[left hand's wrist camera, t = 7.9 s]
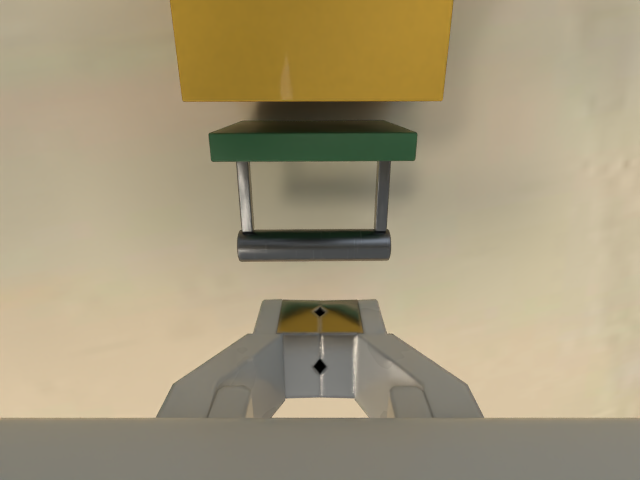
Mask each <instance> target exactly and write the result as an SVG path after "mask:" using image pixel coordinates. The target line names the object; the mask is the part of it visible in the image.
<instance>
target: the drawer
mask: <svg viewBox="0 0 640 480" xmlns="http://www.w3.org/2000/svg"><path fill="white" fill-rule="evenodd" d="M209 144H210V153H211V160H212V161H213V162H236V166H237V178H238V191H239V203H240V215H241V228H242V230H240V231H239V234H238V239H237V252H238V258H239V260H240V261H241V262H272V261H387V260H389V258H390V254H391V237H390V232H389V230H388V229H387V214H388V198H389V183H390V168H391V161H414V160H415V157H416V146H417V133H416V132H414V131H411V130H408V129H406V128H403V127H400V126H398V125H395V124H392V123H390V122H387V121H384V120H342V121H241V122H238V123H235V124H233V125H230V126H227V127H225V128H222V129H219V130H217V131H214V132H211V133H209ZM262 161H377V176H376V195H375V214H374V229H292V230H254V216H253V201H252V187H251V172H250V162H262Z"/></svg>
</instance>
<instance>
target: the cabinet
mask: <svg viewBox="0 0 640 480" xmlns="http://www.w3.org/2000/svg"><path fill="white" fill-rule="evenodd" d="M170 5H171V13H172V21H173V29H174V37H175V45H176V53H177V61H178V69H179V77H180V85H181V94H182V100H183V101H184V102H258V101H442V100H443V93H444V83H445V74H446V65H447V55H448V46H449V37H450V28H451V18H452V9H453V0H170Z"/></svg>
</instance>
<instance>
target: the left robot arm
mask: <svg viewBox="0 0 640 480" xmlns="http://www.w3.org/2000/svg"><path fill="white" fill-rule="evenodd" d="M313 397H326V398H355V401H356V402H357V403H358V404H359V406H360V407H361V408H362V409H363V411H364V412H365V413H366V414H367V416H368V417H369V418H271V417H272V416H273V415H274V413H275V412H276V411H277V410H278V408H279V407H280V406H281V405H282V404H283V402H284V401H285V398H313ZM0 480H640V418H484V416H483V414H482V412H481V410H480V408H479V406H478V404H477V402H476V400H475V399H474V397H473V395H472V393H471V391H470V389H469V387H468V385H467V384H466V383H464V382H463V381H461V380H460V379H458V378H457V377H455V376H454V375H453V374H451V373H450V372H448V371H447V370H445V369H444V368H442V367H441V366H439V365H438V364H436V363H435V362H433V361H432V360H430V359H429V358H427V357H426V356H424V355H423V354H422V353H420V352H419V351H417V350H416V349H414V348H413V347H411V346H410V345H408V344H407V343H405V342H404V341H402V340H401V339H399V338H398V337H396V336H395V335H393V334H387V332H386V329H385V325H384V322H383V318H382V315H381V311H380V308H379V304H378V301H377V300H376V299H369V300H326V301H320V300H282V299H274V300H263V301H262V304H261V307H260V311H259V314H258V318H257V321H256V325H255V328H254V332H253V334H247V335H245V336H244V337H242V338H241V339H239V340H238V341H236V342H235V343H233V344H232V345H230V346H229V347H227V348H226V349H224V350H223V351H221V352H220V353H218V354H217V355H215V356H214V357H212V358H211V359H209V360H208V361H207V362H205V363H204V364H202V365H201V366H199V367H198V368H196V369H195V370H193V371H192V372H190V373H189V374H187V375H186V376H184V377H183V378H181V379H180V380H178V381H177V382H175V383H174V384H173V385H172V387H171V389H170V391H169V393H168V395H167V397H166V399H165V401H164V403H163V405H162V407H161V409H160V410H159V412H158V414H157V416H156V418H0Z"/></svg>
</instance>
